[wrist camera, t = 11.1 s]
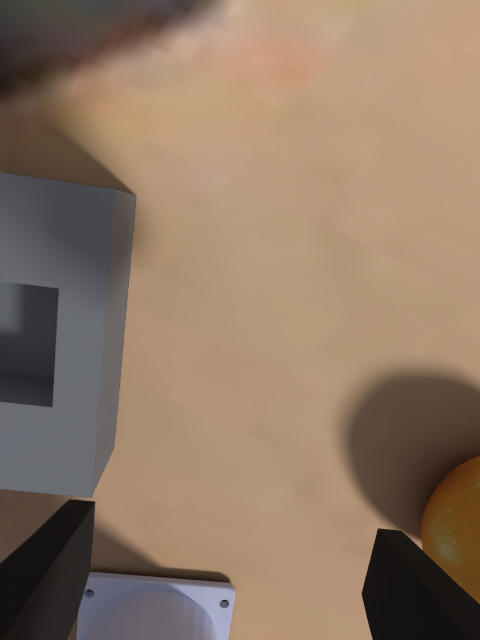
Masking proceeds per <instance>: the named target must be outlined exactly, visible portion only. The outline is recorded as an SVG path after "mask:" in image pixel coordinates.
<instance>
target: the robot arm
mask: <svg viewBox="0 0 480 640" xmlns="http://www.w3.org/2000/svg"><path fill="white" fill-rule="evenodd" d="M94 512H95V502H93V501H82V500H72V499H70V500H69V501H67V502H66V503H65V504H64V505H63V506H62V507H61V508H60V509H59V510H58V511H57V512H56V513H55V514H53V515H52V516H51V517H50V518H49V519H48V520H47V521H46V522H45V523H44V524H43V525H42V526H41V527H40V528H39V529H38V530H37V531H36V532H35V533H34V534H33V535H32V536H30V537H29V538H28V539H27V540H26V541H25V542H24V543H23V544H22V545H20V546H19V547H18V548H17V549H16V550H15V551H14V552H13V553H12V554H10V555H9V556H8V557H7V558H6V559H5V560H4V561H2V562H1V563H0V640H67V638H68V636H69V634H70V631H71V629H72V626H73V624H74V621H75V619H76V616H77V613H78V621H77V634H76V640H228V637H229V631H230V625H231V618H232V612H233V606H234V600H235V588H234V586H233V585H232V584H230V583H224V582H212V581H200V580H187V579H175V578H162V577H150V576H137V575H125V574H112V573H100V572H90V566H91V552H92V539H93V525H94ZM88 589H90V590H93V592H90V591H88ZM362 597H363V602H364V606H365V611H366V615H367V619H368V623H369V627H370V631H371V635H372V639H373V640H480V604H479V603H478V602H477V601H476V600H475V599H474V598H472V597H471V596H470V595H469V594H468V593H467V592H466V591H465V590H464V589H463V588H462V587H461V586H459V585H458V584H457V583H456V582H455V581H454V580H453V579H452V578H451V577H450V576H449V575H448V574H447V573H446V572H445V571H444V570H443V569H442V568H440V567H439V566H438V565H437V564H436V563H435V562H434V561H433V560H432V559H431V558H430V557H429V556H428V555H427V554H426V553H425V552H424V551H423V550H422V549H421V548H419V547H418V546H417V545H416V544H415V543H414V542H413V541H412V540H411V539H410V538H409V537H408V536H406V535H405V534H404V533H403V532H402V531H399V530H388V529H378V531H377V535H376V539H375V543H374V547H373V551H372V554H371V558H370V562H369V566H368V570H367V574H366V578H365V582H364V586H363V590H362ZM222 600H228V601H226V602H222Z"/></svg>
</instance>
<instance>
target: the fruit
mask: <svg viewBox="0 0 480 640" xmlns="http://www.w3.org/2000/svg"><path fill="white" fill-rule="evenodd" d="M421 541H422V547H423V551H424V552H425V553H426V554H427V555H428V556H429V557H430V558H431V559H432V560H433V561H434V562H435V563H436V564H437V565H438V566H439V567H440V568H442V569H443V570H444V571H445V572H446V573H447V574H448V575H449V576H450V577H451V578H452V579H453V580H454V581H455V582H456V583H457V584H458V585H459V586H461V587H462V588H463V589H464V590H465V591H466V592H467V593H468V594H469V595H470V596H471V597H472V598H474V599H475V600H476V601H477V602H478V603H479V604H480V456H477V457H475V458H472V459H470V460H468V461H466V462H464V463H462V464H461V465H459V466H457V467H456V468H454V469H453V470H452V471H451V472H450V473H449V474H448V475H447V476H446V477H445V478H444V479H443V480H442V481H441V482H440V483H439V485H438V486H437V487H436V488H435V490H434V492H433V493H432V495H431V497H430V499H429V501H428V502H427V504H426V507H425V510H424V514H423V518H422V522H421Z"/></svg>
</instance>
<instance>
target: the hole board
mask: <svg viewBox="0 0 480 640" xmlns="http://www.w3.org/2000/svg"><path fill="white" fill-rule="evenodd" d="M135 205H136V195H132V194H129V193H126V192H123V191H120V190H116V189H111V188H104V187H97V186H90V185H84V184H77V183H70V182H63V181H57V180H50V179H43V178H36V177H29V176H23V175H16V174H9V173H2V172H0V489H3V490H14V491H25V492H35V493H46V494H57V495H67V496H78V497H89V498H91V497H92V495H93V493H94V491H95V488H96V486H97V484H98V482H99V480H100V478H101V475H102V473H103V471H104V469H105V467H106V464H107V462H108V460H109V458H110V456H111V454H112V451H113V449H114V445H115V433H116V422H117V410H118V399H119V388H120V376H121V365H122V353H123V342H124V331H125V319H126V308H127V296H128V285H129V274H130V262H131V251H132V240H133V228H134V217H135Z"/></svg>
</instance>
